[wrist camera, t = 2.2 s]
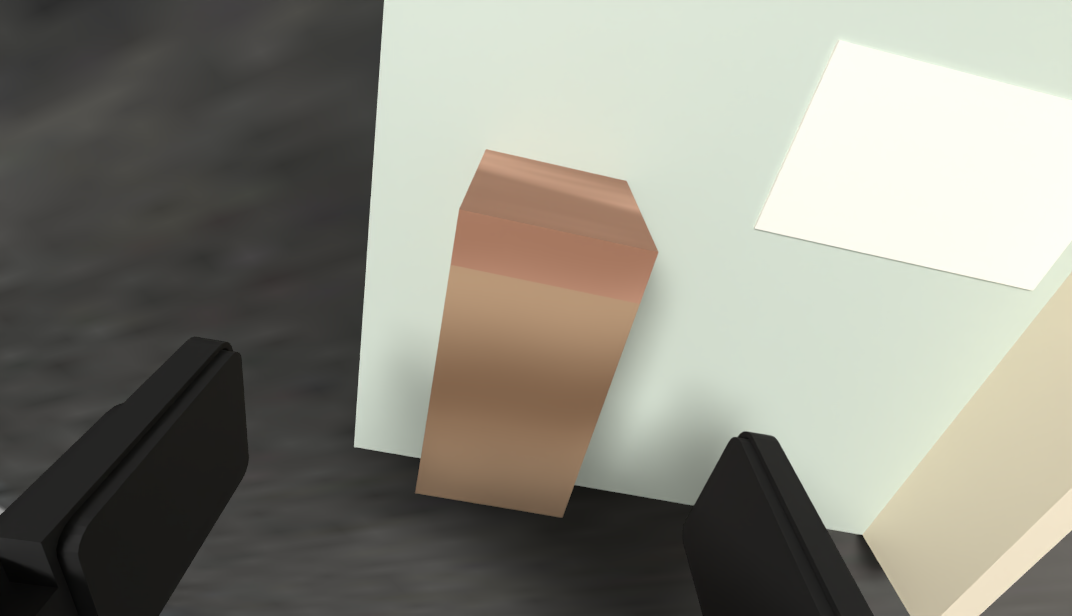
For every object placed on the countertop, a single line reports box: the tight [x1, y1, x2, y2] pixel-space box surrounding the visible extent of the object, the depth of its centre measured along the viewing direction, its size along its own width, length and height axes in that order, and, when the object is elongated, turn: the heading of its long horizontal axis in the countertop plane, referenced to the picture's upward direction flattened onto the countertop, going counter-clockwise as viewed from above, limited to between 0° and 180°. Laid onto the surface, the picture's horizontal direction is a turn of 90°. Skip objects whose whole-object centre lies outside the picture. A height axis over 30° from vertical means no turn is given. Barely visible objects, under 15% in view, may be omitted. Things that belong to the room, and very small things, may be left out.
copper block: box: [415, 149, 659, 518], centre depth 14 cm, size 8×4×5 cm, turn 168°
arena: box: [354, 0, 1072, 616], centre depth 14 cm, size 24×22×4 cm
